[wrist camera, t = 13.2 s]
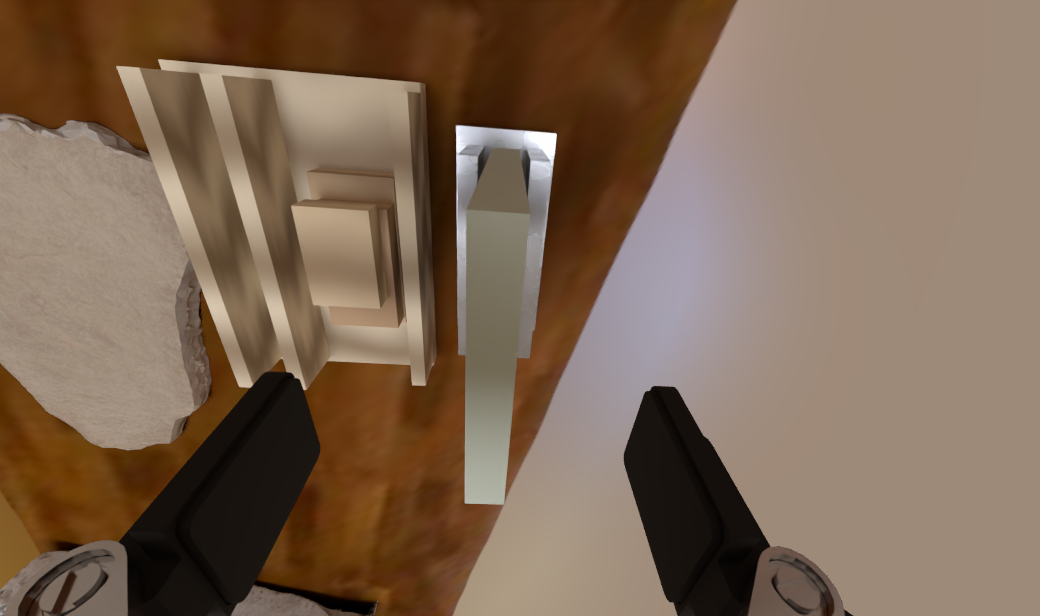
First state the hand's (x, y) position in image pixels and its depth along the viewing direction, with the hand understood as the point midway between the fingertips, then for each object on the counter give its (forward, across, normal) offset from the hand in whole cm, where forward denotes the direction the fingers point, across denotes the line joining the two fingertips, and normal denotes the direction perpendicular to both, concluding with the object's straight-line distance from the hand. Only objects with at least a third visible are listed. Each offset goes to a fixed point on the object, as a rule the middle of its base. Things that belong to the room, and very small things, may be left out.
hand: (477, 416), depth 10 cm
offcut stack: (+17, +8, +2) cm, 19 cm away
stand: (+18, 0, +1) cm, 18 cm away
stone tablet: (+19, +31, +10) cm, 37 cm away
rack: (+18, +12, +2) cm, 22 cm away
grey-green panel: (+17, 0, +1) cm, 17 cm away
